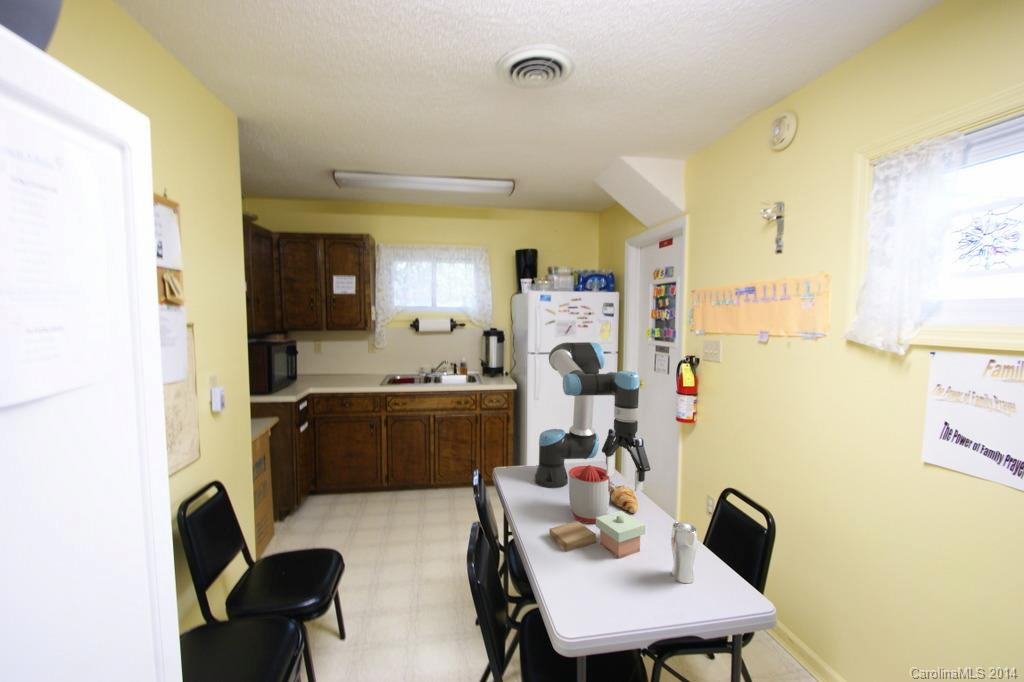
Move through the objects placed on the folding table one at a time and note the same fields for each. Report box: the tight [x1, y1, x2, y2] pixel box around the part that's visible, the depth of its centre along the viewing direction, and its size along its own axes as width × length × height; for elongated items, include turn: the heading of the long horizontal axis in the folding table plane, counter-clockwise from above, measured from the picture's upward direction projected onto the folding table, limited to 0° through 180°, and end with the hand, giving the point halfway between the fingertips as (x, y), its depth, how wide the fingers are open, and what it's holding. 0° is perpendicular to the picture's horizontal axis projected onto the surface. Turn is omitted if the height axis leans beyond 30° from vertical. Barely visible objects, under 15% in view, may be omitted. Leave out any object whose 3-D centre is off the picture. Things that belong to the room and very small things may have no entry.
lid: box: [595, 510, 646, 542], centre depth 135 cm, size 11×11×4 cm
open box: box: [599, 529, 641, 560], centre depth 136 cm, size 9×9×6 cm
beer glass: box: [670, 521, 698, 584], centre depth 120 cm, size 7×7×15 cm
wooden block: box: [548, 520, 597, 552], centre depth 140 cm, size 10×12×3 cm
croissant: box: [609, 485, 639, 514], centre depth 168 cm, size 21×10×8 cm, turn 11°
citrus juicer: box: [568, 464, 616, 524], centre depth 156 cm, size 16×17×20 cm
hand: (623, 482), depth 136 cm, fingers open, 13 cm apart
